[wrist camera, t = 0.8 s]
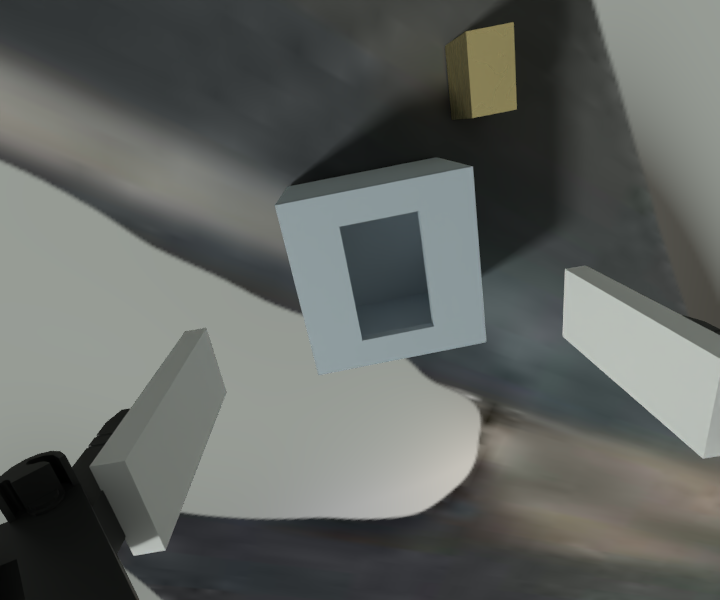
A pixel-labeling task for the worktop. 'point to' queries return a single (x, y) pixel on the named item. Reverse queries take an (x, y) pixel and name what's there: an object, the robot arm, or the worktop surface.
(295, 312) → the worktop surface
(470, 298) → the grey square hollow box
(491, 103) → the block
